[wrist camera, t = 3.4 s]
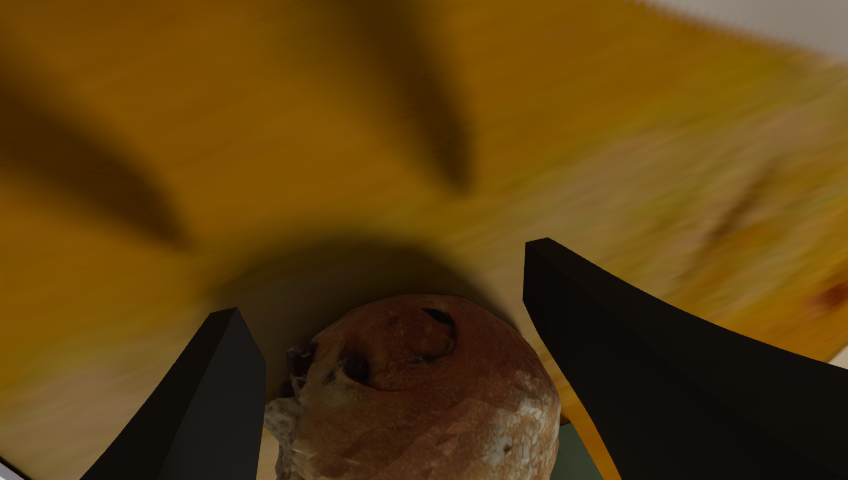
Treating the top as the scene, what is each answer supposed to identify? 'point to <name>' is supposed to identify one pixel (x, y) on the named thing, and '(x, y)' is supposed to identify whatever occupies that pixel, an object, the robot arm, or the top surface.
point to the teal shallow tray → (573, 458)
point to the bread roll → (416, 397)
